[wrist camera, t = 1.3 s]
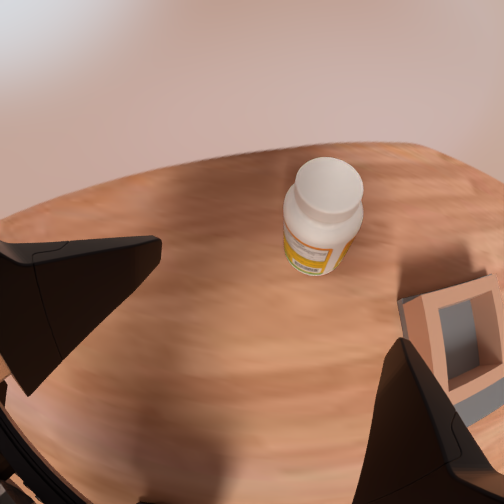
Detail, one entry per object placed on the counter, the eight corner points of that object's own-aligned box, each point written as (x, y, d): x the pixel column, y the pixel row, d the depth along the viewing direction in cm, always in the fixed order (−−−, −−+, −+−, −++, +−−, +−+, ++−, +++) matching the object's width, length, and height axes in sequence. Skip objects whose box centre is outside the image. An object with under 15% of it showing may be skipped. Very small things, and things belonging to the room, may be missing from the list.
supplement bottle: (329, 212, 25) (348, 139, 16) (353, 264, 23) (391, 208, 14) (275, 230, 25) (269, 159, 16) (296, 286, 23) (304, 237, 14)
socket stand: (501, 401, 15) (528, 403, 11) (412, 448, 16) (434, 462, 12) (486, 276, 20) (511, 262, 16) (396, 301, 21) (419, 288, 17)
